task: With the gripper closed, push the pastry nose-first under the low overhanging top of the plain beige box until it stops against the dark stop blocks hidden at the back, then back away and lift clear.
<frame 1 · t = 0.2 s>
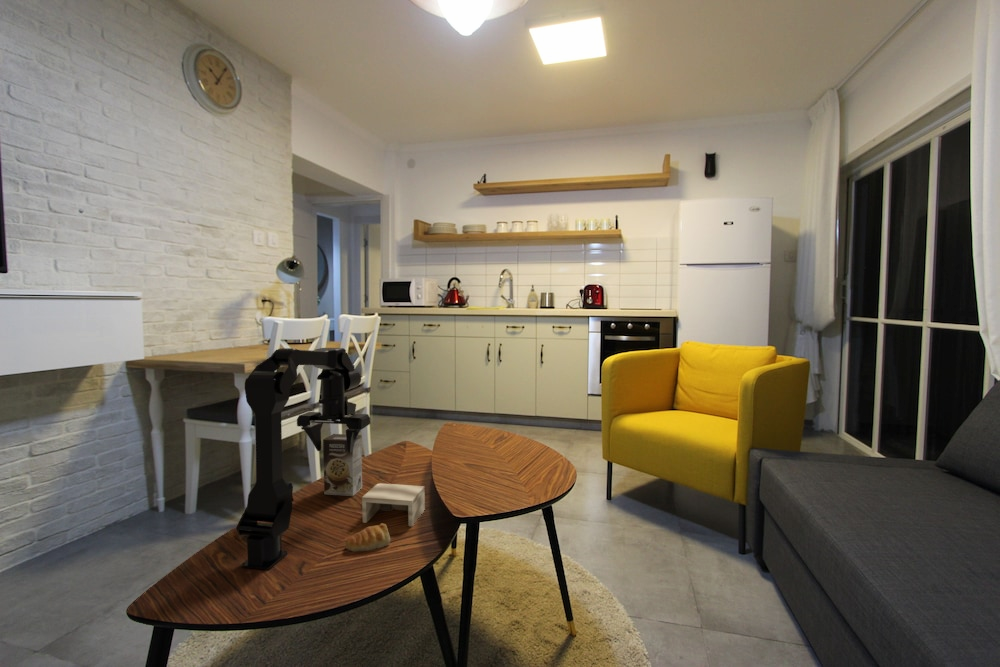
hand: (334, 451, 121), 14 cm above the table, tool pointing down, fingers open, 9 cm apart
plain beige box: (392, 518, 113), on the table
pastry: (371, 545, 101), on the table
coffee box: (343, 491, 131), on the table
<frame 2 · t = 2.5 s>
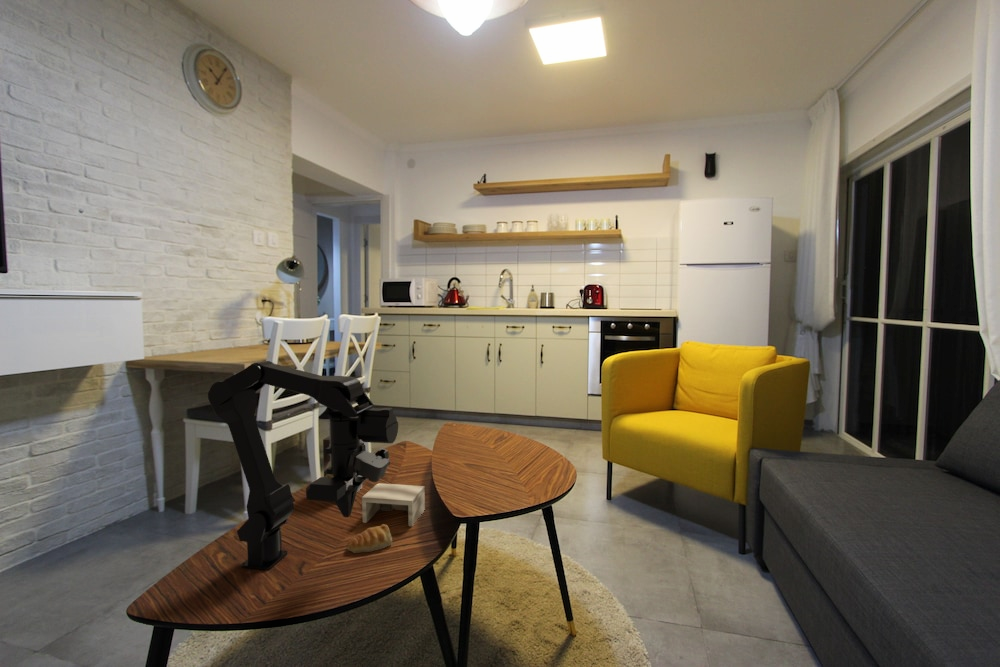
hand: (347, 516, 91), 11 cm above the table, tool pointing down, fingers closed
nothing on the table moved.
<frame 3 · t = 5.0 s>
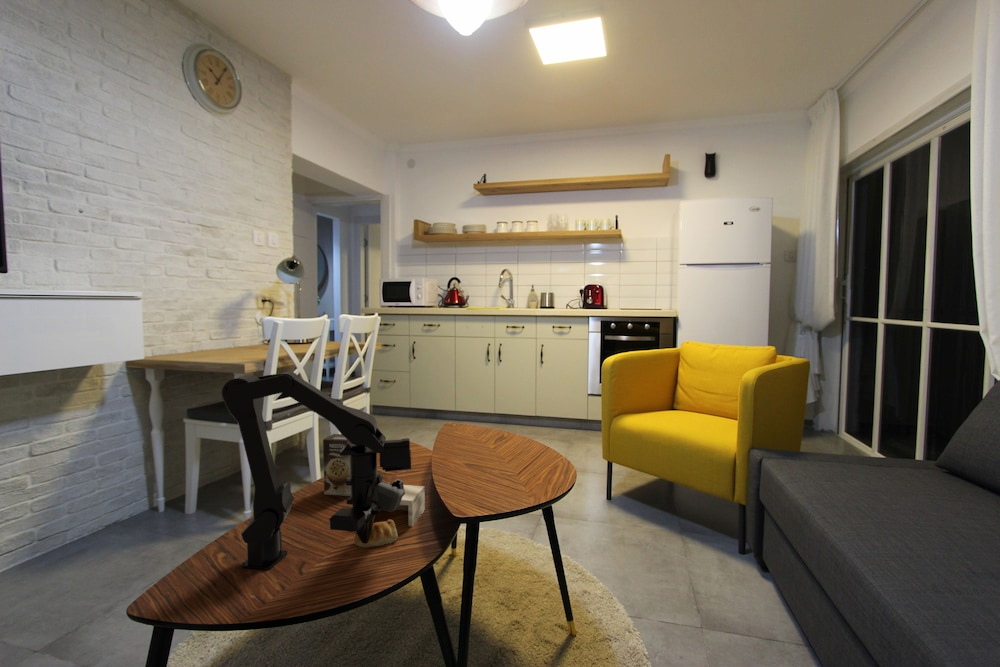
hand: (365, 542, 99), 2 cm above the table, tool pointing down, fingers closed
pastry: (378, 541, 103), on the table, touching gripper
everything else where it was.
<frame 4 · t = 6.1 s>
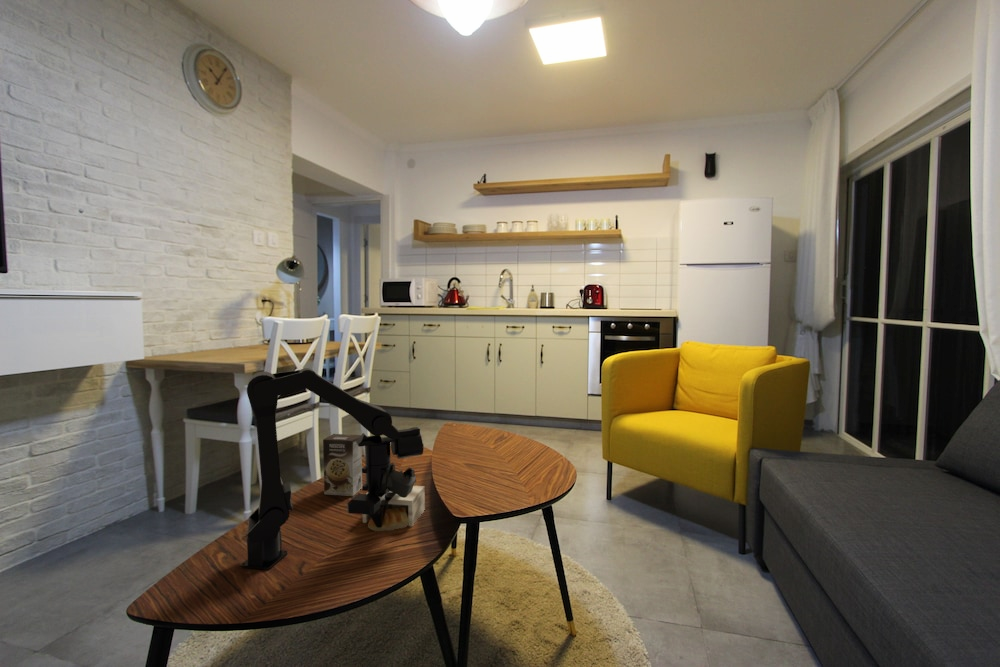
hand: (379, 526, 106), 2 cm above the table, tool pointing down, fingers closed
pastry: (391, 526, 110), on the table, touching gripper
everything else where it was.
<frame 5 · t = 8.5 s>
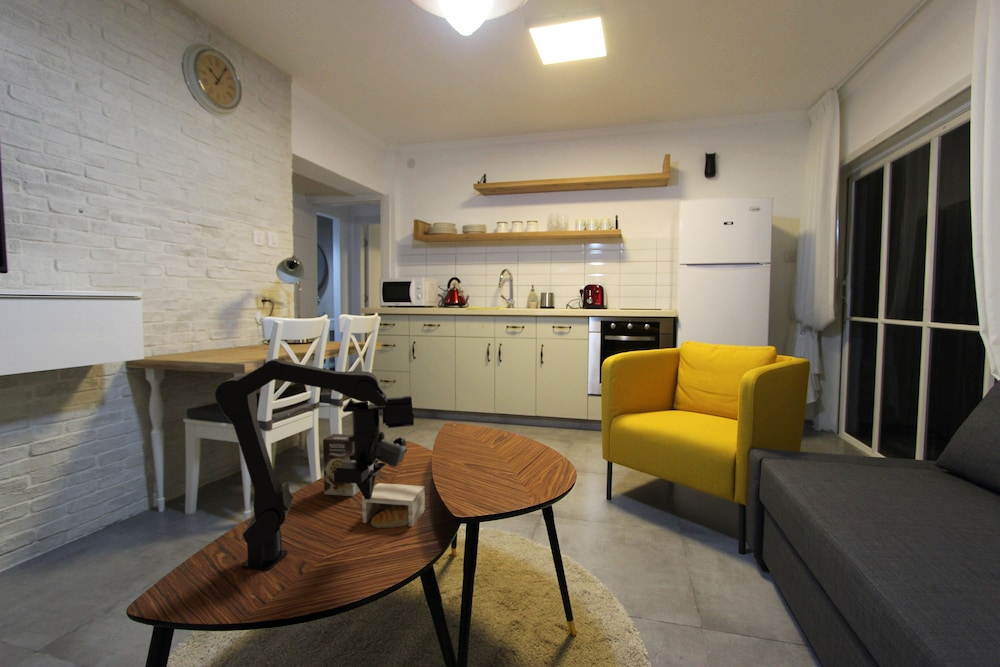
hand: (368, 498, 100), 11 cm above the table, tool pointing down, fingers closed
pastry: (393, 523, 112), on the table
everything else where it was.
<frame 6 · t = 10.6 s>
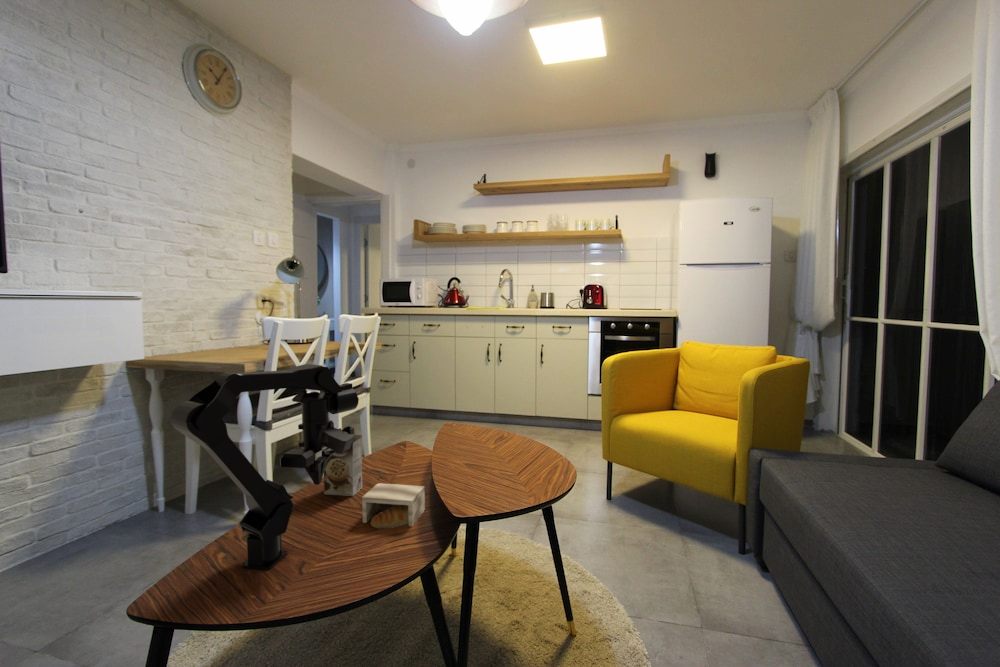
hand: (317, 484, 105), 12 cm above the table, tool pointing down, fingers closed
nothing on the table moved.
at the end: pastry 1.6 cm from the target spot, on the table; the gripper is holding nothing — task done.
